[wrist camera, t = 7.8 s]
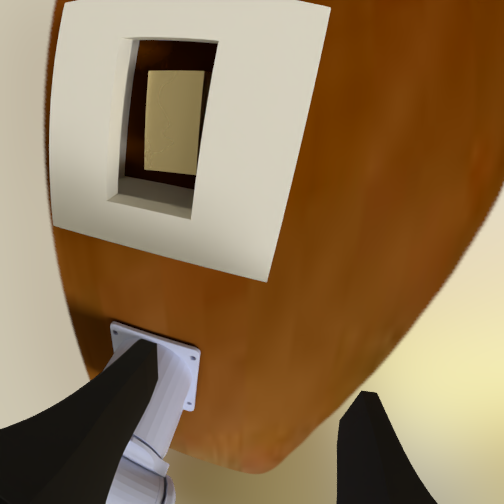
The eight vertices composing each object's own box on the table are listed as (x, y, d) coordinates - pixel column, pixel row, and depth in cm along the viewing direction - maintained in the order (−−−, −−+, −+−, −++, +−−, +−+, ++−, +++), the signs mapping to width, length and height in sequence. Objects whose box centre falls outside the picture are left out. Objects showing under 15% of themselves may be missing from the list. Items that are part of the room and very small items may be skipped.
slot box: (278, 225, 19) (266, 282, 13) (111, 188, 19) (53, 225, 14) (322, 36, 13) (331, 7, 8) (129, 18, 14) (65, 3, 9)
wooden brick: (221, 154, 17) (195, 175, 13) (179, 150, 18) (144, 169, 14) (229, 75, 15) (204, 71, 11) (185, 73, 15) (148, 71, 11)
